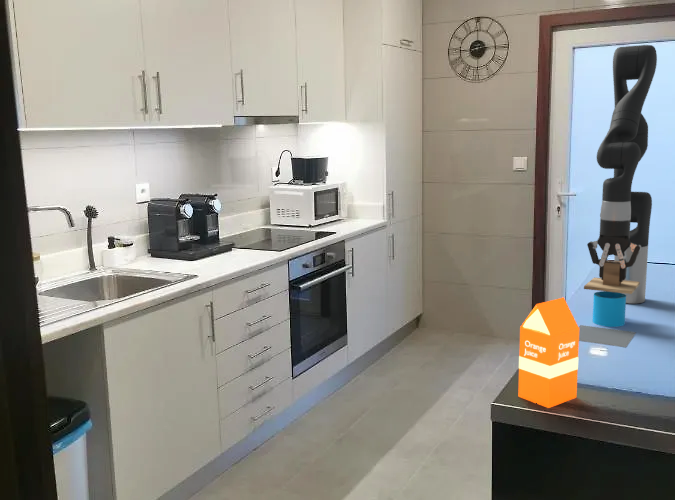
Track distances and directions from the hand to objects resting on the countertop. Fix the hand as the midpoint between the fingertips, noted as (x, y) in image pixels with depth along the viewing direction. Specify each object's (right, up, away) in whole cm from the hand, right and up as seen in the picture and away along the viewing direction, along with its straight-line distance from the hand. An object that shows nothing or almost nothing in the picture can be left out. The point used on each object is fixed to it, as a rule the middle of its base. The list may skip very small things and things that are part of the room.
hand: (612, 280), depth 190 cm
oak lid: (0, -2, 0) cm, 2 cm away
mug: (0, -12, +2) cm, 12 cm away
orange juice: (-32, -22, -49) cm, 62 cm away
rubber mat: (-7, -14, -11) cm, 19 cm away
